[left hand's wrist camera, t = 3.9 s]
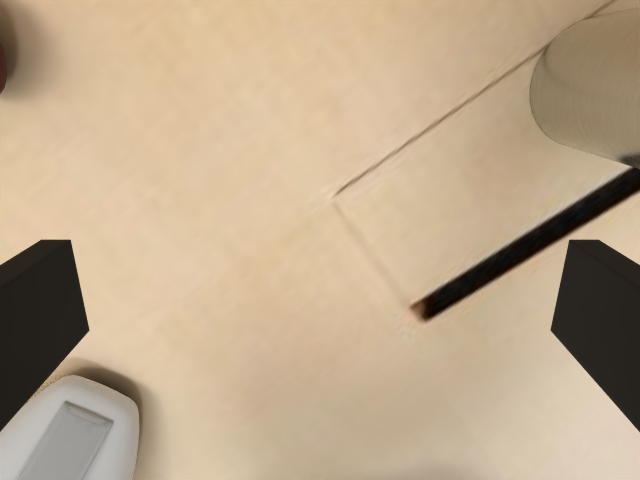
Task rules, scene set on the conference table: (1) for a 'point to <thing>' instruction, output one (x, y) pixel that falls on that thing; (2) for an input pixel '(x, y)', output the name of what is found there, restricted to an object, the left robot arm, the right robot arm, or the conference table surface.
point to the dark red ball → (2, 70)
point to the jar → (592, 87)
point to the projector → (72, 434)
